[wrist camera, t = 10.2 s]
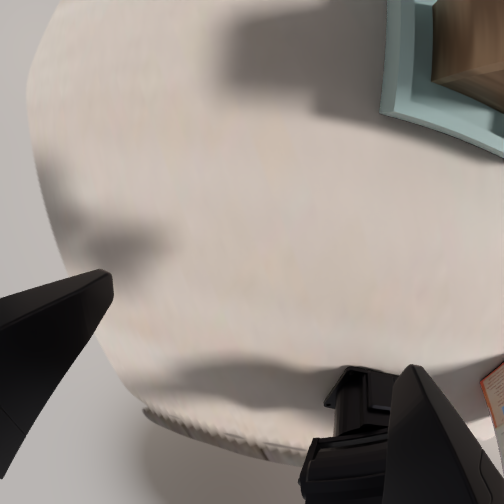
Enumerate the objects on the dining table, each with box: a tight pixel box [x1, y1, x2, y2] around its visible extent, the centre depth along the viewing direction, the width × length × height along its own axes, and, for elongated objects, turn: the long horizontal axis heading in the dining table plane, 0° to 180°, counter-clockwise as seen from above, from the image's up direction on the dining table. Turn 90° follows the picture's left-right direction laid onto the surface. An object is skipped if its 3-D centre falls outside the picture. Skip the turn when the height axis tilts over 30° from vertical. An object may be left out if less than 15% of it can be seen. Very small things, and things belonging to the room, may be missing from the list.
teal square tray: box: [379, 0, 504, 158], centre depth 10 cm, size 12×12×4 cm
